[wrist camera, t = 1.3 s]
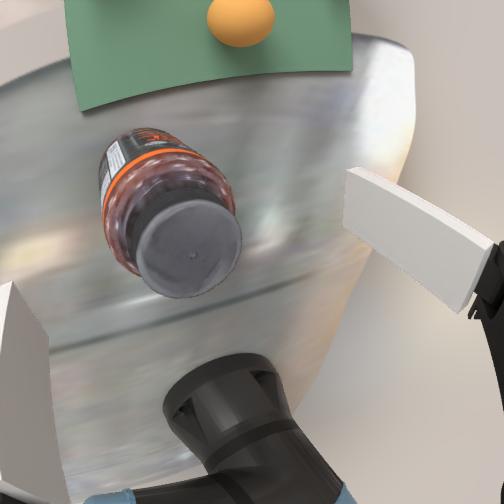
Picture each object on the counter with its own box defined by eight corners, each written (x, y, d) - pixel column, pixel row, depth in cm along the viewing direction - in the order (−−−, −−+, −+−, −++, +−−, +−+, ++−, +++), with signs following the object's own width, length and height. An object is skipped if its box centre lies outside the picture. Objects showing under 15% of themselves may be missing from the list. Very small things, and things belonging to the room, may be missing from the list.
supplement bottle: (196, 139, 20) (293, 197, 12) (168, 218, 22) (235, 322, 14) (112, 115, 17) (137, 152, 8) (88, 203, 18) (98, 317, 10)
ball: (256, 47, 18) (290, 44, 15) (200, 52, 17) (225, 47, 14) (252, -4, 16) (285, -16, 13) (195, -3, 14) (219, -19, 11)
